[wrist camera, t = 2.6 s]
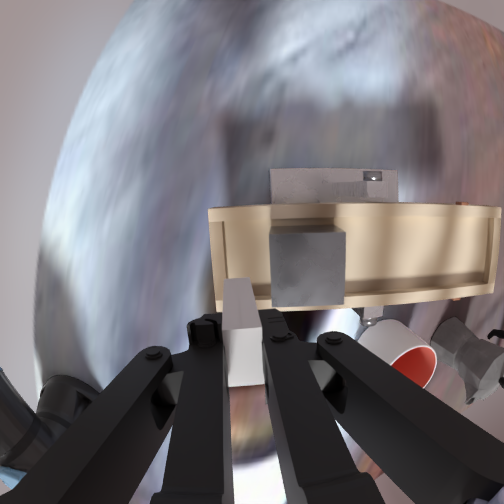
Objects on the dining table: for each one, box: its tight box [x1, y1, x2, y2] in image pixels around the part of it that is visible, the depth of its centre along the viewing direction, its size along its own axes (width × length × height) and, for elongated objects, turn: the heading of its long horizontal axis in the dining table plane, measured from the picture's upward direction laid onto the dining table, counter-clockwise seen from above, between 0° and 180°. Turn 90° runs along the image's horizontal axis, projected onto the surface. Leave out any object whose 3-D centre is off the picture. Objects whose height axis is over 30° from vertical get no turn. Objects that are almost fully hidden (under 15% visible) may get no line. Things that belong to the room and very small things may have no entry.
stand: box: [269, 168, 398, 326], centre depth 33 cm, size 18×18×11 cm
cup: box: [358, 319, 437, 388], centre depth 38 cm, size 10×10×10 cm
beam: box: [208, 202, 501, 312], centre depth 27 cm, size 32×11×4 cm, turn 93°
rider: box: [269, 224, 346, 307], centre depth 25 cm, size 6×6×5 cm
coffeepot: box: [430, 317, 504, 405], centre depth 35 cm, size 15×9×18 cm, turn 126°
